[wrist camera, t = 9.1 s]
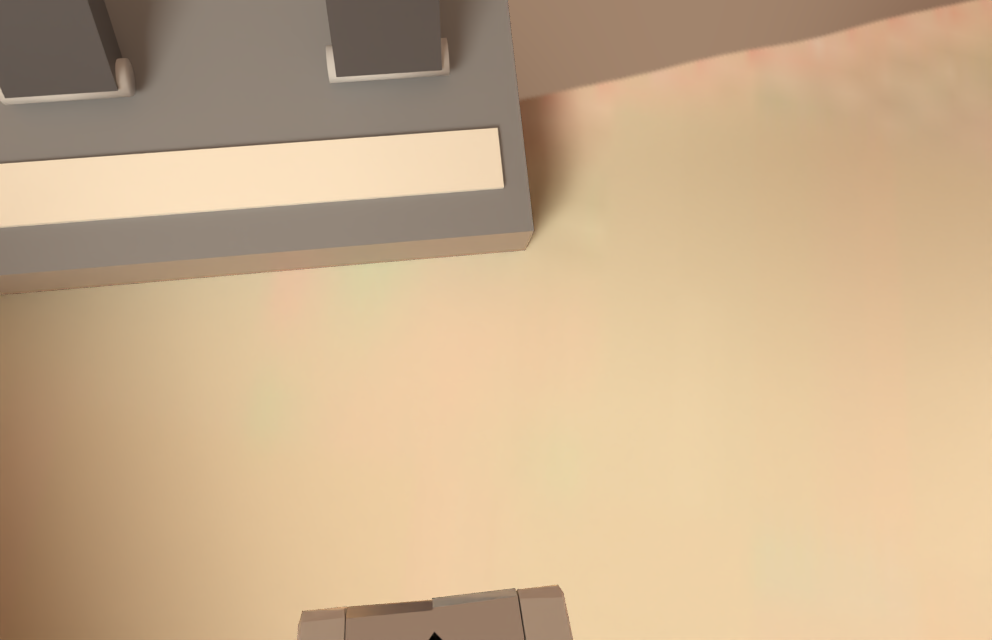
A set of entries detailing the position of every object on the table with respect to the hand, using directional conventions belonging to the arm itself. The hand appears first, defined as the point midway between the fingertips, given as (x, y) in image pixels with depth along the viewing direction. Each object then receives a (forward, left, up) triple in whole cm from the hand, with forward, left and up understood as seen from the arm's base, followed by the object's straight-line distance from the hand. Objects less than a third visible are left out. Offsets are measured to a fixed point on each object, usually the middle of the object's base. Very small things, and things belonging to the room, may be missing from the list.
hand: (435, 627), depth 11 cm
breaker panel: (+6, -18, -26) cm, 33 cm away
